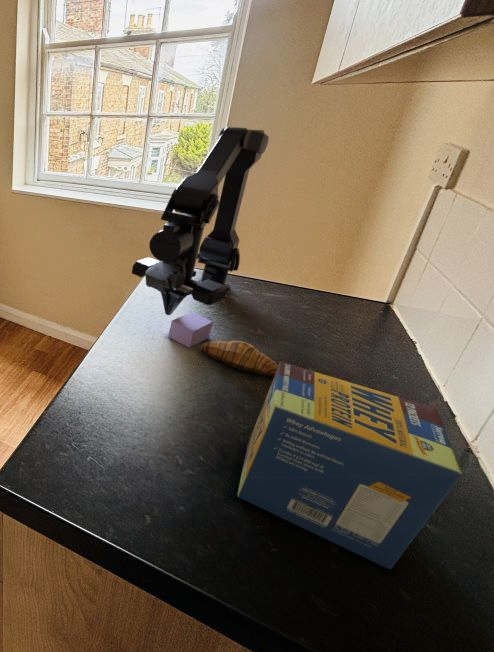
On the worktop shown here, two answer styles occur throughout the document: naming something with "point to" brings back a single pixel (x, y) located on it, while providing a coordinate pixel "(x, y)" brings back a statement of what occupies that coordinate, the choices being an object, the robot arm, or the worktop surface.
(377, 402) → the protein box
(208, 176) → the robot arm
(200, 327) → the block
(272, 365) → the croissant
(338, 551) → the worktop surface
